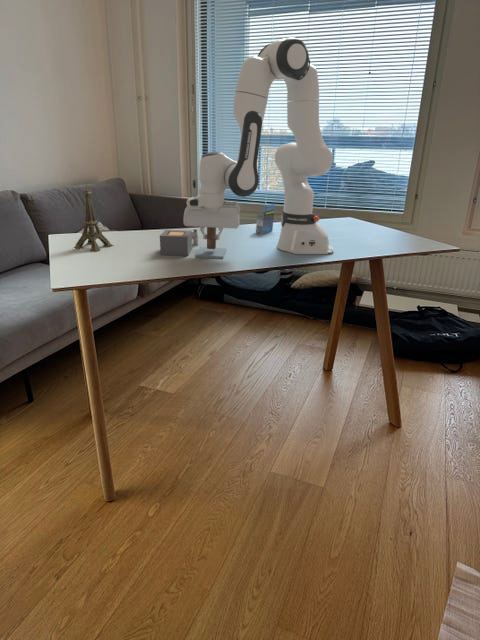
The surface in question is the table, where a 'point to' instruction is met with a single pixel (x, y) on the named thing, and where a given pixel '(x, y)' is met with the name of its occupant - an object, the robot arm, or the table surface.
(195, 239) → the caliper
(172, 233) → the button
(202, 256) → the rest pad
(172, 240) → the box
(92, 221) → the eiffel tower
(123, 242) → the table surface
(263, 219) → the label tape box
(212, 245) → the brown rectangular block
